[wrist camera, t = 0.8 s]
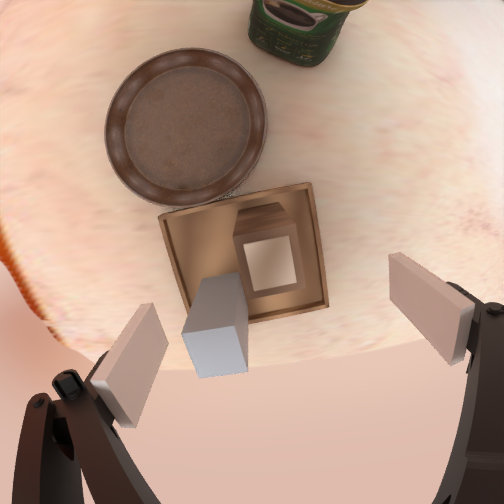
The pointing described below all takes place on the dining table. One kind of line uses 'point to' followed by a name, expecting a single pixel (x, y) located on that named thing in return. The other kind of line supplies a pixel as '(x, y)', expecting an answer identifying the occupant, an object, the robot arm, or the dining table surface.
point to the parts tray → (224, 254)
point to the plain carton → (218, 327)
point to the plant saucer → (185, 127)
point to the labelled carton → (268, 251)
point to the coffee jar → (299, 27)
